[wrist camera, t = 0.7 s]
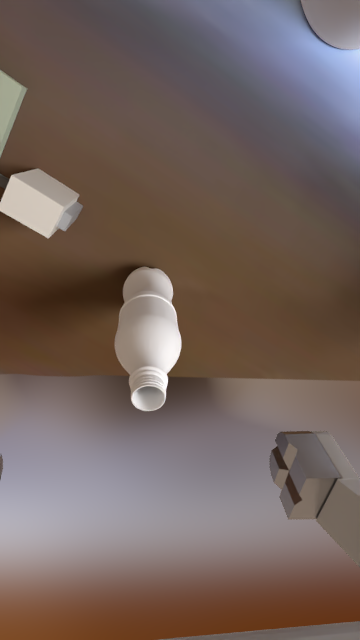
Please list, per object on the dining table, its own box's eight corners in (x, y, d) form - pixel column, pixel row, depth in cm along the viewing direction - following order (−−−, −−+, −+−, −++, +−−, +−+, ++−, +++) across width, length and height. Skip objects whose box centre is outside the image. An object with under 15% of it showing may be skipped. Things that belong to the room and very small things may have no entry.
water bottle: (114, 284, 48) (87, 400, 27) (147, 251, 46) (147, 349, 25) (148, 313, 51) (149, 439, 30) (181, 284, 49) (207, 396, 28)
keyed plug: (19, 156, 39) (-13, 160, 31) (86, 199, 42) (72, 212, 34) (7, 185, 41) (-27, 196, 33) (73, 224, 44) (56, 243, 36)
